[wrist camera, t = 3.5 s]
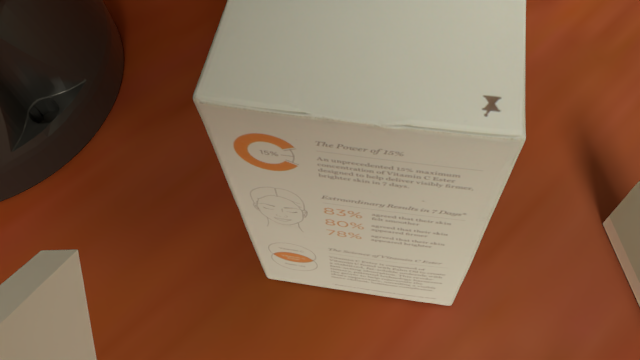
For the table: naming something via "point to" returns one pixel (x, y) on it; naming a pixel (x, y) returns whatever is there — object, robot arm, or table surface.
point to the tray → (627, 237)
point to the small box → (367, 135)
